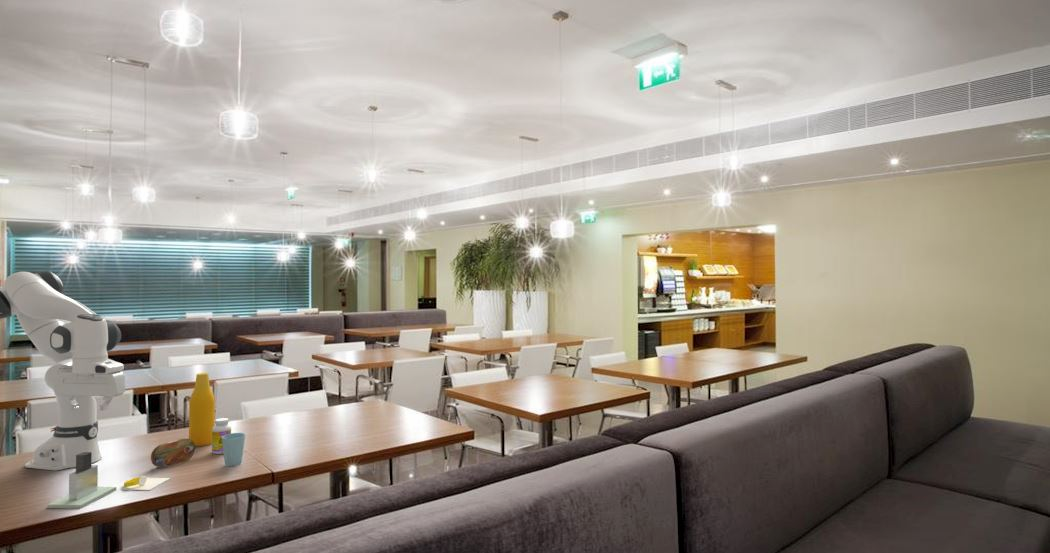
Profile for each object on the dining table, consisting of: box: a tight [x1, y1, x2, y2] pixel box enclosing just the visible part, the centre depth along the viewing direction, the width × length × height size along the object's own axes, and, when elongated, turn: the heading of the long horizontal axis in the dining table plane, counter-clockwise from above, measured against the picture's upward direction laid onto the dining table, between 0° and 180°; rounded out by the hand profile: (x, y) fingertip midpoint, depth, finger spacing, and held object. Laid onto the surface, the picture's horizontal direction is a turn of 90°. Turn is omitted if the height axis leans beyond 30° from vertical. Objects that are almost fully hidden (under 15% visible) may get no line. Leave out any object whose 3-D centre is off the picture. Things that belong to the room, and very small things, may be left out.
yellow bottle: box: [188, 372, 216, 447], centre depth 226 cm, size 9×9×29 cm
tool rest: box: [47, 486, 117, 509], centre depth 170 cm, size 10×14×1 cm
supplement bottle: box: [211, 417, 232, 455], centre depth 216 cm, size 7×7×13 cm
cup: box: [222, 432, 246, 467], centre depth 203 cm, size 8×8×10 cm
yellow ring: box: [123, 475, 147, 488], centre depth 181 cm, size 6×3×6 cm
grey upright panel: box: [68, 452, 99, 501], centre depth 170 cm, size 2×8×13 cm, turn 179°
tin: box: [150, 438, 196, 469], centre depth 202 cm, size 15×3×8 cm, turn 154°
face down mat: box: [121, 477, 171, 492], centre depth 182 cm, size 9×10×1 cm
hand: (89, 409), depth 172 cm, fingers open, 8 cm apart
